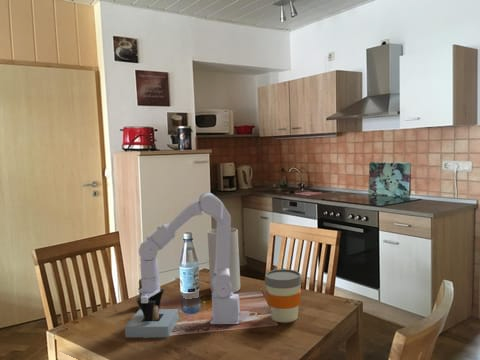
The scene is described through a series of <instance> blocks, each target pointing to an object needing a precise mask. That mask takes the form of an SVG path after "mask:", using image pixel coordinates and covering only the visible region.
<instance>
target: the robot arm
mask: <svg viewBox="0 0 480 360" xmlns="http://www.w3.org/2000/svg"><path fill="white" fill-rule="evenodd" d="M202 212H203V213H204V214H206V215H208V216H210V217H212V218H213V219H214V220H215V222H216V228H217V232H216V261H215V269H214V275H213V277H212V279H211V283H212V285H213V288H214V291H213V292H212V291H211V307H212V309H211V310H212V317H211V320H210V324H211V325H239V322H240V318H241V309H240V295H239V293H238V294H237V293H233V292H232V289H233V287H232V284H231V282H230V271H229V258H230V230H231V228H232V227H231V225H232V216H231V213H229V211H228V209H227V208H226V206H225V205H224V203H223V201H221V200H220V198H219V197H217V195H215V194H214V193H212V192H208V191H207V192H203V193H201V195H200V196H199V197H197V198H195V199H194V200H193V201H192V202H190V203H189V204H188V205H187V206H186V207H185V208H184V209H183V210H182V211H181V212H180V213H179V214H177V216H176V217H175V218H174V219H173V220H171V221H170V223H163V224H162V225H158V226H157V227H156V229H157V230H155V231H154V232H153V233H152V234H151V235H148V236H147V237H146V238H145V239H146V240H143V241H142V242H141V244H140V246H139V248H138V253H139V256H140V259H139V261H140V265H139V266H140V278H141V281H142V289H139V290H138V293H142V297H141V300H139V301H138V303H137V305H138V306H140V308H141V310H142V312H143V315H144V318H145V321H152V320H153V310H154V305H156V306H158V310H159V309H160V308H161V307H160V306H161V300H162V297H163V294H164V291H165V290H164V289H163V288H161V282H160V274H159V262H158V256H157V255H158V251H160V250H162V249H164V248H165V247H166V246H167V245H168V244H169V243H170V242H171V241H172V240H174V239H175V237H176V232H177V230H179V229H180V228H181V227H182V226H184V225H185V223H187V222H188V221H189V220H191V218H192V217H195V216H201V215H203V213H202Z"/></svg>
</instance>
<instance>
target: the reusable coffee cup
mask: <svg viewBox="0 0 480 360" xmlns="http://www.w3.org/2000/svg"><path fill="white" fill-rule="evenodd" d="M302 281H303V280H302V275H301V273H300V272H299V271H297V270H294V269H287V268H282V269H279V268H278V269H273V270H269V271H268V272H266V273H265V275H264V284H265V286H266V287H265V288H266V290H265V291H266V292H265V293H266V298H267V305H268V306H269V309H270V316H271V319H272V320H273V321H274V322H277V323H291V322H294V321H296V320H297V319H298V316H299V307H300V306H299V305H300V304H301V297H302V296H301V295H302V289H301V284H302Z"/></svg>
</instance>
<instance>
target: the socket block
mask: <svg viewBox="0 0 480 360" xmlns="http://www.w3.org/2000/svg"><path fill="white" fill-rule="evenodd" d="M179 318H180V315H179V309H178V308H172V309H170V308H169V309H165V308H164V309H163V308H161V309H159V321H145V318H144V315H143V312H142V310H139V309H138V311H137V312H136V313H135V314H134V315H133V316H132V318H130V320H129V321H128V322H127V324H126V325H125V326H124V335H125V338H170V335H171V333H173V332H172V331H173V330H174V328H175V327H176V325H177V323H178V321H179Z"/></svg>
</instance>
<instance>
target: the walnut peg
mask: <svg viewBox="0 0 480 360" xmlns="http://www.w3.org/2000/svg"><path fill="white" fill-rule="evenodd" d="M152 321H159V310H158V306H156V305H154V310H153V320H152Z"/></svg>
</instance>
